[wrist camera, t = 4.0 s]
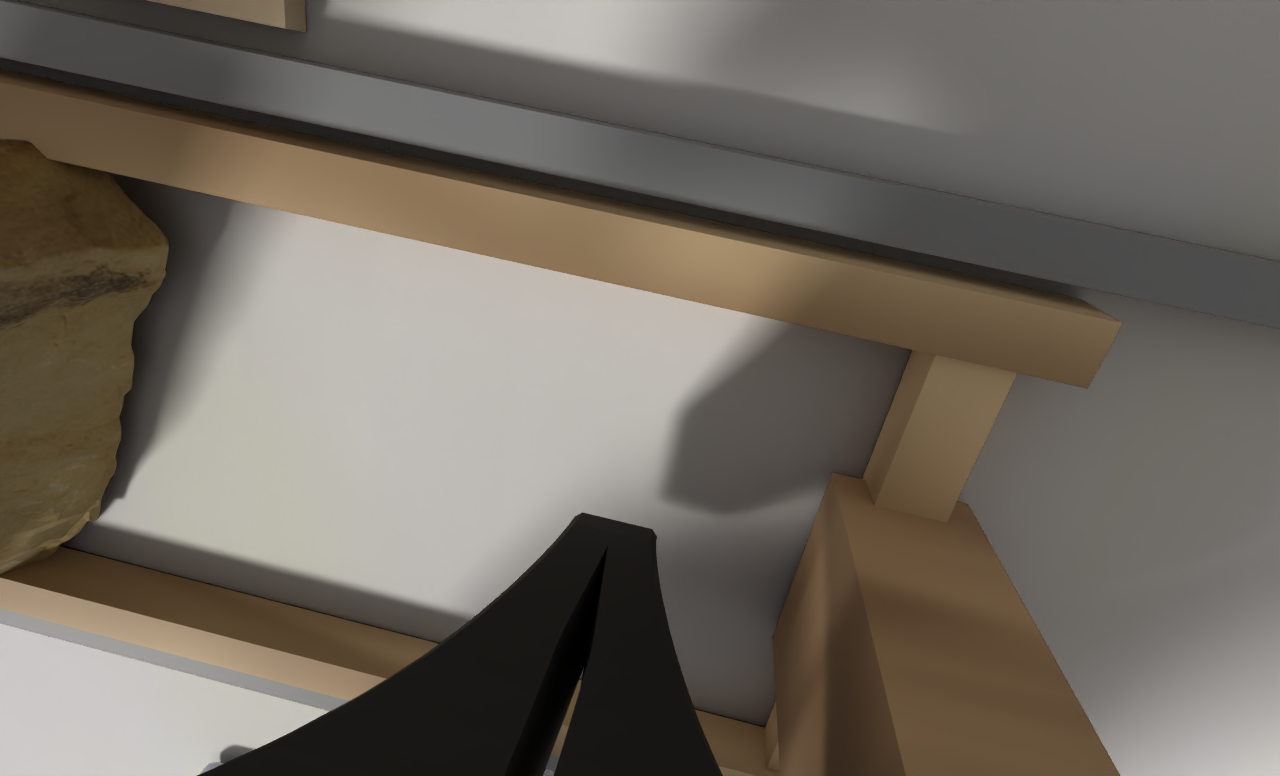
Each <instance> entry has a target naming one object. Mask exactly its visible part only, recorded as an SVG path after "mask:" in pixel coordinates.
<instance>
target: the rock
mask: <svg viewBox="0 0 1280 776" xmlns="http://www.w3.org/2000/svg"><path fill="white" fill-rule="evenodd" d="M168 252H169V241H168V239H167V238H166V236H165V235H164V234H163V232H162V231H161V230H160V229H159V227H158V226H157V225H156V224H155V223H154V222H153V221H151V220H150V219H149V218H148V217H147V216H146V215H145V214H144V212H143V211H142V210H141V209H140V208H139V207H138V206H137V205H136V204H135V203H134V202H133V201H132V200H131V199H130V198H129V197H128V196H127V195H126V194H125V193H124V191H123V190H122V189H121V188H120V187H119V185H118V184H117V183H116V182H115V181H114V179H113V178H112V177H111V176H110V174H109V173H108V172H106V171H101V170H97V169H92V168H88V167H83V166H79V165H74V164H70V163H65V162H61V161H56V160H51V159H48V158H47V157H45V156H44V155H43V154H42V153H41V152H40V151H39V150H38V149H37V148H36V147H35V146H34V145H33V144H32V143H31V142H29V141H26V140H18V139H1V138H0V575H2V574H4V573H7V572H10V571H12V570H15V569H17V568H19V567H22V566H24V565H26V564H29V563H31V562H37V561H44V560H46V559H48V558H49V557H50V556H51V555H52V554H54V553H55V552H56V551H57V550H58V548H59V547H60V545H61V544H62V543H63V542H65V541H68V540H69V539H71V538H72V537H74V536H76V535H77V534H78V533H79V532H80V531H81V529H82V528H83V527H84V525H85V524H86V523H87V522H88V521H90V522H93V521H95V520H96V519H98V518H99V515H100V510H101V500H102V497H103V494H104V491H105V489H106V486H107V485H108V483H109V481H110V478H111V477H113V475H114V473H115V470H116V466H117V461H116V452H117V449H118V445H119V443H120V441H121V431H122V429H121V424H120V419H119V416H120V413H121V410H122V408H123V402H124V395H125V394H126V393H127V392H128V391H130V390H131V387H132V375H133V370H134V354H133V351H132V347H131V342H132V336H133V326H134V321H135V320H136V319H137V317H138V316H139V315H140V314H141V312H142V311H143V310H144V309H145V308H146V307H147V305H148V304H149V302H150V299H151V296H152V294H153V293H154V292H155V291H156V290H157V289H158V288H159V287H160V286H161V284H162V281H163V279H164V277H165V275H166V271H165V267H166V262H167V257H168Z"/></svg>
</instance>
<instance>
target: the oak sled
mask: <svg viewBox="0 0 1280 776" xmlns="http://www.w3.org/2000/svg"><path fill="white" fill-rule="evenodd" d="M0 138H1V139H18V140H26V141H29V142H31V143H32V144H33V145H34V146H35V147H36V148H37V149H38V150H39V151H40V152H41V153H42V154H43V155H44V156H45V157H47V158H48V159H51V160H56V161H61V162H65V163H70V164H74V165H79V166H83V167H88V168H92V169H97V170H101V171H106V172H110V173H115V174H119V175H124V176H128V177H133V178H137V179H142V180H147V181H151V182H156V183H160V184H165V185H169V186H174V187H178V188H183V189H187V190H192V191H196V192H201V193H205V194H210V195H214V196H219V197H223V198H228V199H232V200H237V201H242V202H246V203H251V204H255V205H260V206H264V207H269V208H273V209H278V210H282V211H287V212H291V213H296V214H300V215H305V216H309V217H314V218H318V219H323V220H328V221H332V222H337V223H341V224H346V225H350V226H355V227H359V228H364V229H368V230H373V231H377V232H382V233H386V234H391V235H395V236H400V237H404V238H409V239H413V240H418V241H423V242H427V243H432V244H436V245H441V246H445V247H450V248H454V249H459V250H463V251H468V252H472V253H477V254H481V255H486V256H490V257H495V258H499V259H504V260H508V261H513V262H518V263H522V264H527V265H531V266H536V267H540V268H545V269H549V270H554V271H558V272H563V273H567V274H572V275H576V276H581V277H585V278H590V279H594V280H599V281H604V282H608V283H613V284H617V285H622V286H626V287H631V288H635V289H640V290H644V291H649V292H653V293H658V294H662V295H667V296H671V297H676V298H680V299H685V300H689V301H694V302H699V303H703V304H708V305H712V306H717V307H721V308H726V309H730V310H735V311H739V312H744V313H748V314H753V315H757V316H762V317H766V318H771V319H775V320H780V321H785V322H789V323H794V324H798V325H803V326H807V327H812V328H816V329H821V330H825V331H830V332H834V333H839V334H843V335H848V336H852V337H857V338H861V339H866V340H870V341H875V342H880V343H884V344H889V345H893V346H898V347H902V348H907V349H911V350H912V353H911V355H910V358H909V360H908V363H907V366H906V368H905V371H904V373H903V376H902V378H901V381H900V384H899V386H898V389H897V391H896V394H895V396H894V399H893V401H892V404H891V407H890V409H889V412H888V414H887V417H886V419H885V422H884V425H883V427H882V430H881V432H880V435H879V437H878V440H877V442H876V445H875V448H874V450H873V453H872V455H871V458H870V460H869V463H868V465H867V468H866V471H865V473H864V476H863V478H862V479H859V478H854V477H850V476H846V475H841V474H837V473H833V472H832V475H831V477H830V480H829V483H828V486H827V488H826V491H825V494H824V497H823V499H822V502H821V505H820V508H819V510H818V513H817V516H816V519H815V521H814V524H813V527H812V530H811V532H810V535H809V538H808V540H807V543H806V546H805V549H804V551H803V554H802V557H801V560H800V562H799V565H798V568H797V571H796V573H795V576H794V579H793V582H792V584H791V587H790V590H789V593H788V595H787V598H786V601H785V603H784V606H783V609H782V612H781V614H780V617H779V620H778V623H777V625H776V628H775V631H774V634H773V636H772V639H773V657H774V675H775V693H776V701H775V704H774V706H773V709H772V711H771V714H770V717H769V719H768V722H767V724H766V727H765V728H764V727H760V726H756V725H753V724H749V723H745V722H741V721H737V720H733V719H729V718H725V717H722V716H718V715H714V714H710V713H706V712H702V711H698V710H695V711H696V714H697V717H698V719H699V722H700V724H701V727H702V729H703V732H704V734H705V736H706V739H707V741H708V743H709V746H710V748H711V750H712V753H713V755H714V757H715V760H716V762H717V764H718V766H719V768H720V770H721V772H722V774H723V776H1120V774H1119V772H1118V771H1117V769H1116V767H1115V765H1114V763H1113V762H1112V760H1111V758H1110V756H1109V755H1108V753H1107V751H1106V749H1105V747H1104V746H1103V744H1102V742H1101V740H1100V739H1099V737H1098V735H1097V733H1096V731H1095V730H1094V728H1093V726H1092V724H1091V722H1090V721H1089V719H1088V717H1087V715H1086V714H1085V712H1084V710H1083V708H1082V706H1081V705H1080V703H1079V701H1078V699H1077V698H1076V696H1075V694H1074V692H1073V690H1072V689H1071V687H1070V685H1069V683H1068V681H1067V680H1066V678H1065V676H1064V674H1063V673H1062V671H1061V669H1060V667H1059V665H1058V664H1057V662H1056V660H1055V658H1054V657H1053V655H1052V653H1051V651H1050V649H1049V648H1048V646H1047V644H1046V642H1045V640H1044V639H1043V637H1042V635H1041V633H1040V632H1039V630H1038V628H1037V626H1036V624H1035V623H1034V621H1033V619H1032V617H1031V616H1030V614H1029V612H1028V610H1027V608H1026V607H1025V605H1024V603H1023V601H1022V599H1021V598H1020V596H1019V594H1018V592H1017V591H1016V589H1015V587H1014V585H1013V583H1012V582H1011V580H1010V578H1009V576H1008V575H1007V573H1006V571H1005V569H1004V567H1003V566H1002V564H1001V562H1000V560H999V559H998V557H997V555H996V553H995V551H994V550H993V548H992V546H991V544H990V542H989V541H988V539H987V537H986V535H985V534H984V532H983V530H982V528H981V526H980V525H979V523H978V521H977V519H976V518H975V516H974V514H973V512H972V510H971V509H970V507H969V505H968V504H966V503H961V502H957V500H958V498H959V496H960V494H961V491H962V489H963V487H964V485H965V483H966V481H967V479H968V477H969V475H970V472H971V470H972V468H973V466H974V464H975V462H976V460H977V458H978V455H979V453H980V451H981V449H982V447H983V445H984V443H985V441H986V439H987V436H988V434H989V432H990V430H991V428H992V426H993V424H994V422H995V420H996V417H997V415H998V413H999V411H1000V409H1001V407H1002V405H1003V403H1004V400H1005V398H1006V396H1007V394H1008V392H1009V390H1010V388H1011V386H1012V384H1013V381H1014V379H1015V377H1016V375H1017V373H1020V374H1024V375H1029V376H1033V377H1038V378H1042V379H1047V380H1051V381H1056V382H1061V383H1065V384H1070V385H1074V386H1079V387H1083V388H1089V386H1090V384H1091V382H1092V380H1093V378H1094V376H1095V374H1096V373H1097V371H1098V369H1099V367H1100V365H1101V363H1102V361H1103V359H1104V357H1105V356H1106V354H1107V352H1108V350H1109V348H1110V346H1111V344H1112V342H1113V340H1114V339H1115V337H1116V335H1117V333H1118V331H1119V329H1120V327H1121V325H1122V323H1121V322H1119V321H1118V320H1116V319H1114V318H1112V317H1111V316H1109V315H1107V314H1106V313H1104V312H1102V311H1100V310H1099V309H1097V308H1095V307H1093V306H1092V305H1090V304H1088V303H1087V302H1085V301H1083V300H1081V299H1078V298H1073V297H1068V296H1064V295H1059V294H1054V293H1049V292H1045V291H1040V290H1035V289H1031V288H1026V287H1021V286H1017V285H1012V284H1007V283H1003V282H998V281H993V280H989V279H984V278H979V277H975V276H970V275H965V274H960V273H956V272H951V271H946V270H942V269H937V268H932V267H928V266H923V265H918V264H914V263H909V262H904V261H900V260H895V259H890V258H886V257H881V256H876V255H871V254H867V253H862V252H857V251H853V250H848V249H843V248H839V247H834V246H829V245H825V244H820V243H815V242H811V241H806V240H801V239H796V238H792V237H787V236H782V235H778V234H773V233H768V232H764V231H759V230H754V229H750V228H745V227H740V226H736V225H731V224H726V223H722V222H717V221H712V220H707V219H703V218H698V217H693V216H689V215H684V214H679V213H675V212H670V211H665V210H661V209H656V208H651V207H647V206H642V205H637V204H633V203H628V202H623V201H618V200H614V199H609V198H604V197H600V196H595V195H590V194H586V193H581V192H576V191H572V190H567V189H562V188H558V187H553V186H548V185H543V184H539V183H534V182H529V181H525V180H520V179H515V178H511V177H506V176H501V175H497V174H492V173H487V172H483V171H478V170H473V169H469V168H464V167H459V166H454V165H450V164H445V163H440V162H436V161H431V160H426V159H422V158H417V157H412V156H408V155H403V154H398V153H394V152H389V151H384V150H380V149H375V148H370V147H365V146H361V145H356V144H351V143H347V142H342V141H337V140H333V139H328V138H323V137H319V136H314V135H309V134H305V133H300V132H295V131H290V130H286V129H281V128H276V127H272V126H267V125H262V124H258V123H253V122H248V121H244V120H239V119H234V118H230V117H225V116H220V115H216V114H211V113H206V112H201V111H197V110H192V109H187V108H183V107H178V106H173V105H169V104H164V103H159V102H155V101H150V100H145V99H141V98H136V97H131V96H126V95H122V94H117V93H112V92H108V91H103V90H98V89H94V88H89V87H84V86H80V85H75V84H70V83H66V82H61V81H56V80H52V79H47V78H42V77H37V76H33V75H28V74H23V73H19V72H14V71H9V70H5V69H0ZM0 609H4V610H8V611H11V612H15V613H19V614H23V615H27V616H30V617H34V618H38V619H42V620H45V621H49V622H53V623H57V624H61V625H64V626H68V627H72V628H76V629H79V630H83V631H87V632H91V633H95V634H98V635H102V636H106V637H110V638H113V639H117V640H121V641H125V642H129V643H132V644H136V645H140V646H144V647H147V648H151V649H155V650H159V651H163V652H166V653H170V654H174V655H178V656H181V657H185V658H189V659H193V660H197V661H200V662H204V663H208V664H212V665H215V666H219V667H223V668H227V669H231V670H234V671H238V672H242V673H246V674H249V675H253V676H257V677H261V678H265V679H268V680H272V681H276V682H280V683H283V684H287V685H291V686H295V687H299V688H302V689H306V690H310V691H314V692H317V693H321V694H325V695H329V696H333V697H336V698H340V699H344V700H348V701H350V700H352V699H354V698H356V697H357V696H359V695H361V694H363V693H364V692H366V691H368V690H369V689H371V688H373V687H374V686H376V685H378V684H379V683H381V682H383V681H384V680H386V679H387V678H389V677H390V676H392V675H393V674H395V673H397V672H398V671H400V670H401V669H403V668H404V667H406V666H407V665H409V664H410V663H412V662H414V661H415V660H417V659H418V658H420V657H421V656H423V655H424V654H426V653H427V652H428V651H430V650H431V649H433V648H434V647H435V646H437V645H438V643H434V642H430V641H426V640H422V639H418V638H415V637H411V636H407V635H403V634H399V633H395V632H391V631H387V630H383V629H380V628H376V627H372V626H368V625H364V624H360V623H356V622H352V621H348V620H345V619H341V618H337V617H333V616H329V615H325V614H321V613H317V612H313V611H310V610H306V609H302V608H298V607H294V606H290V605H286V604H282V603H279V602H275V601H271V600H267V599H263V598H259V597H255V596H251V595H247V594H244V593H240V592H236V591H232V590H228V589H224V588H220V587H216V586H212V585H209V584H205V583H201V582H197V581H193V580H189V579H185V578H181V577H177V576H174V575H170V574H166V573H162V572H158V571H154V570H150V569H146V568H142V567H139V566H135V565H131V564H127V563H123V562H119V561H115V560H111V559H108V558H104V557H100V556H96V555H92V554H88V553H84V552H80V551H76V550H73V549H69V548H65V547H61V546H60V547H59V548H58V550H57V551H56V552H55V553H54V554H52V555H51V556H50V557H49V558H48V559H46V560H44V561H37V562H31V563H29V564H26V565H24V566H22V567H19V568H17V569H15V570H12V571H10V572H7V573H4V574H2V575H0ZM581 681H582V680H579V681H578V684H577V686H576V689H575V692H574V694H573V697H572V700H571V702H570V705H569V708H568V710H567V713H566V716H565V718H564V721H563V724H562V726H561V729H560V732H559V734H558V737H557V739H556V742H555V745H554V747H553V750H552V753H551V754H552V755H555V756H559V757H560V754H561V750H562V747H563V744H564V740H565V737H566V734H567V731H568V727H569V724H570V721H571V717H572V714H573V711H574V708H575V704H576V701H577V698H578V694H579V691H580V687H581Z"/></svg>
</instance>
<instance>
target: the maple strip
mask: <svg viewBox="0 0 1280 776" xmlns="http://www.w3.org/2000/svg"><path fill="white" fill-rule="evenodd" d="M147 1H152V2H157V3H162V4H167V5H172V6H177V7H181V8H186V9H191V10H196V11H201V12H206V13H211V14H216V15H221V16H226V17H230V18H235V19H240V20H245V21H250V22H255V23H260V24H265V25H270V26H275V27H279V28H284V29H290V30H296V31H302V32H306V13H305V0H147Z"/></svg>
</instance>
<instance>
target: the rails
mask: <svg viewBox="0 0 1280 776" xmlns="http://www.w3.org/2000/svg"><path fill="white" fill-rule="evenodd" d="M0 57H1V58H6V59H11V60H16V61H20V62H25V63H30V64H34V65H39V66H44V67H49V68H53V69H58V70H63V71H67V72H72V73H77V74H82V75H86V76H91V77H96V78H100V79H105V80H110V81H115V82H119V83H124V84H129V85H133V86H138V87H143V88H147V89H152V90H157V91H162V92H166V93H171V94H176V95H180V96H185V97H190V98H195V99H199V100H204V101H209V102H213V103H218V104H223V105H228V106H232V107H237V108H242V109H246V110H251V111H256V112H260V113H265V114H270V115H275V116H279V117H284V118H289V119H293V120H298V121H303V122H308V123H312V124H317V125H322V126H326V127H331V128H336V129H341V130H345V131H350V132H355V133H359V134H364V135H369V136H373V137H378V138H383V139H388V140H392V141H397V142H402V143H406V144H411V145H416V146H421V147H425V148H430V149H435V150H439V151H444V152H449V153H454V154H458V155H463V156H468V157H472V158H477V159H482V160H487V161H491V162H496V163H501V164H505V165H510V166H515V167H519V168H524V169H529V170H534V171H538V172H543V173H548V174H552V175H557V176H562V177H567V178H571V179H576V180H581V181H585V182H590V183H595V184H600V185H604V186H609V187H614V188H618V189H623V190H628V191H632V192H637V193H642V194H647V195H651V196H656V197H661V198H665V199H670V200H675V201H680V202H684V203H689V204H694V205H698V206H703V207H708V208H713V209H717V210H722V211H727V212H731V213H736V214H741V215H746V216H750V217H755V218H760V219H764V220H769V221H774V222H778V223H783V224H788V225H793V226H797V227H802V228H807V229H811V230H816V231H821V232H826V233H830V234H835V235H840V236H844V237H849V238H854V239H859V240H863V241H868V242H873V243H877V244H882V245H887V246H891V247H896V248H901V249H906V250H910V251H915V252H920V253H924V254H929V255H934V256H939V257H943V258H948V259H953V260H957V261H962V262H967V263H972V264H976V265H981V266H986V267H990V268H995V269H1000V270H1004V271H1009V272H1014V273H1019V274H1023V275H1028V276H1033V277H1037V278H1042V279H1047V280H1052V281H1056V282H1061V283H1066V284H1070V285H1075V286H1080V287H1085V288H1089V289H1094V290H1099V291H1103V292H1108V293H1113V294H1118V295H1122V296H1127V297H1132V298H1136V299H1141V300H1146V301H1150V302H1155V303H1160V304H1165V305H1169V306H1174V307H1179V308H1183V309H1188V310H1193V311H1198V312H1202V313H1207V314H1212V315H1216V316H1221V317H1226V318H1231V319H1235V320H1240V321H1245V322H1249V323H1254V324H1259V325H1263V326H1268V327H1273V328H1278V329H1280V262H1279V261H1274V260H1269V259H1264V258H1260V257H1255V256H1250V255H1245V254H1240V253H1235V252H1230V251H1226V250H1221V249H1216V248H1211V247H1206V246H1201V245H1197V244H1192V243H1187V242H1182V241H1177V240H1172V239H1168V238H1163V237H1158V236H1153V235H1148V234H1143V233H1139V232H1134V231H1129V230H1124V229H1119V228H1114V227H1110V226H1105V225H1100V224H1095V223H1090V222H1085V221H1080V220H1076V219H1071V218H1066V217H1061V216H1056V215H1051V214H1047V213H1042V212H1037V211H1032V210H1027V209H1022V208H1018V207H1013V206H1008V205H1003V204H998V203H993V202H989V201H984V200H979V199H974V198H969V197H964V196H960V195H955V194H950V193H945V192H940V191H935V190H930V189H926V188H921V187H916V186H911V185H906V184H901V183H897V182H892V181H887V180H882V179H877V178H872V177H868V176H863V175H858V174H853V173H848V172H843V171H839V170H834V169H829V168H824V167H819V166H814V165H810V164H805V163H800V162H795V161H790V160H785V159H780V158H776V157H771V156H766V155H761V154H756V153H751V152H747V151H742V150H737V149H732V148H727V147H722V146H718V145H713V144H708V143H703V142H698V141H693V140H689V139H684V138H679V137H674V136H669V135H664V134H660V133H655V132H650V131H645V130H640V129H635V128H630V127H626V126H621V125H616V124H611V123H606V122H601V121H597V120H592V119H587V118H582V117H577V116H572V115H568V114H563V113H558V112H553V111H548V110H543V109H539V108H534V107H529V106H524V105H519V104H514V103H510V102H505V101H500V100H495V99H490V98H485V97H480V96H476V95H471V94H466V93H461V92H456V91H451V90H447V89H442V88H437V87H432V86H427V85H422V84H418V83H413V82H408V81H403V80H398V79H393V78H389V77H384V76H379V75H374V74H369V73H364V72H360V71H355V70H350V69H345V68H340V67H335V66H330V65H326V64H321V63H316V62H311V61H306V60H301V59H297V58H292V57H287V56H282V55H277V54H272V53H268V52H263V51H258V50H253V49H248V48H243V47H239V46H234V45H229V44H224V43H219V42H214V41H210V40H205V39H200V38H195V37H190V36H185V35H180V34H176V33H171V32H166V31H161V30H156V29H151V28H147V27H142V26H137V25H132V24H127V23H122V22H118V21H113V20H108V19H103V18H98V17H93V16H89V15H84V14H79V13H74V12H69V11H64V10H60V9H55V8H50V7H45V6H40V5H35V4H30V3H26V2H21V1H16V0H0ZM0 623H1V624H4V625H8V626H12V627H16V628H19V629H23V630H27V631H31V632H34V633H38V634H42V635H46V636H49V637H53V638H57V639H61V640H65V641H68V642H72V643H76V644H80V645H83V646H87V647H91V648H95V649H98V650H102V651H106V652H110V653H113V654H117V655H121V656H125V657H128V658H132V659H136V660H140V661H143V662H147V663H151V664H155V665H158V666H162V667H166V668H170V669H173V670H177V671H181V672H185V673H189V674H192V675H196V676H200V677H204V678H207V679H211V680H215V681H219V682H222V683H226V684H230V685H234V686H237V687H241V688H245V689H249V690H252V691H256V692H260V693H264V694H267V695H271V696H275V697H279V698H282V699H286V700H290V701H294V702H298V703H301V704H305V705H309V706H313V707H316V708H320V709H324V710H328V711H332V710H333V709H335V708H337V707H339V706H341V705H343V704H345V703H346V702H348V700H344V699H340V698H336V697H333V696H329V695H325V694H321V693H317V692H314V691H310V690H306V689H302V688H299V687H295V686H291V685H287V684H283V683H280V682H276V681H272V680H268V679H265V678H261V677H257V676H253V675H249V674H246V673H242V672H238V671H234V670H231V669H227V668H223V667H219V666H215V665H212V664H208V663H204V662H200V661H197V660H193V659H189V658H185V657H181V656H178V655H174V654H170V653H166V652H163V651H159V650H155V649H151V648H147V647H144V646H140V645H136V644H132V643H129V642H125V641H121V640H117V639H113V638H110V637H106V636H102V635H98V634H95V633H91V632H87V631H83V630H79V629H76V628H72V627H68V626H64V625H61V624H57V623H53V622H49V621H45V620H42V619H38V618H34V617H30V616H27V615H23V614H19V613H15V612H11V611H8V610H4V609H0ZM558 760H559V756H555V755H552V754H551V755H550V758H549V761H548V763H547V766H546V769H549V770H553V771H555V770H556V767H557V763H558Z"/></svg>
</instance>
